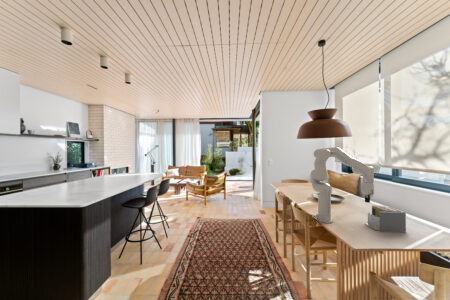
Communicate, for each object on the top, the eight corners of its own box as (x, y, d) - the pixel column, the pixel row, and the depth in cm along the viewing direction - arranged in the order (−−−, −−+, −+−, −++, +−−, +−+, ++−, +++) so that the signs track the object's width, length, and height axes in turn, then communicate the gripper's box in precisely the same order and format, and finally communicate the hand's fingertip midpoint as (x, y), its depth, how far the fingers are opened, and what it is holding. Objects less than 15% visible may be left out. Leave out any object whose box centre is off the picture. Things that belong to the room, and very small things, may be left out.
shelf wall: (380, 231, 138) (380, 212, 138) (367, 224, 152) (367, 206, 152) (405, 232, 137) (405, 212, 137) (390, 224, 151) (390, 206, 151)
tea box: (400, 231, 139) (400, 210, 139) (385, 231, 139) (385, 210, 139) (384, 223, 154) (384, 205, 154) (371, 223, 154) (371, 204, 154)
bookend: (376, 230, 140) (375, 218, 140) (364, 224, 152) (364, 212, 152) (381, 230, 139) (381, 218, 139) (369, 224, 152) (369, 212, 152)
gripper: (358, 179, 172) (357, 199, 172) (369, 181, 157) (368, 204, 157) (366, 179, 171) (366, 200, 171) (379, 182, 156) (378, 204, 156)
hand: (367, 202), depth 164 cm, fingers closed
